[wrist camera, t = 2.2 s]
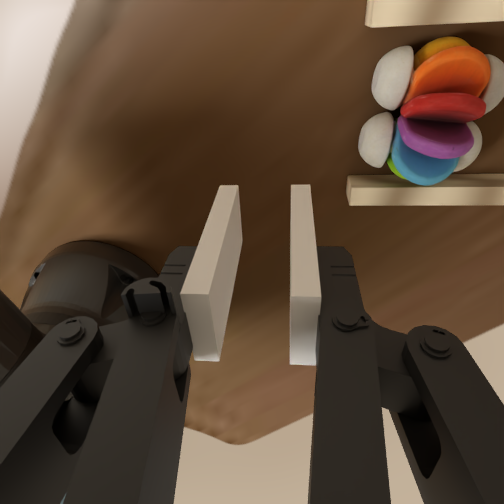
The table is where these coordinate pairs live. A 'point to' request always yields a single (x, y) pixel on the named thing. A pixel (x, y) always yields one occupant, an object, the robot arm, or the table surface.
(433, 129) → the rainbow disc toy
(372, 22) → the channel
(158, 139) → the table surface
